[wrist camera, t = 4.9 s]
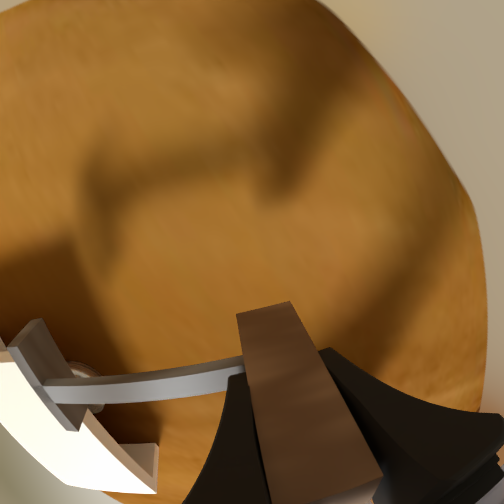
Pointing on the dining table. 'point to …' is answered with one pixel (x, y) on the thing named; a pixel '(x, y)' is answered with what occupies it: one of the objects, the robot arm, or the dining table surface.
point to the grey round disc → (82, 372)
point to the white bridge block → (72, 441)
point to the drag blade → (262, 398)
